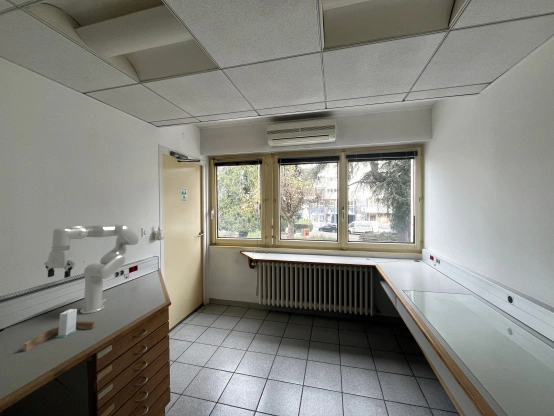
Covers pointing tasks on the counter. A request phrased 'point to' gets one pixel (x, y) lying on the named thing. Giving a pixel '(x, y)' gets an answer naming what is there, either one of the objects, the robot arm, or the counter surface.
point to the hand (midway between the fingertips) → (59, 276)
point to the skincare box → (67, 322)
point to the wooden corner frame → (53, 332)
